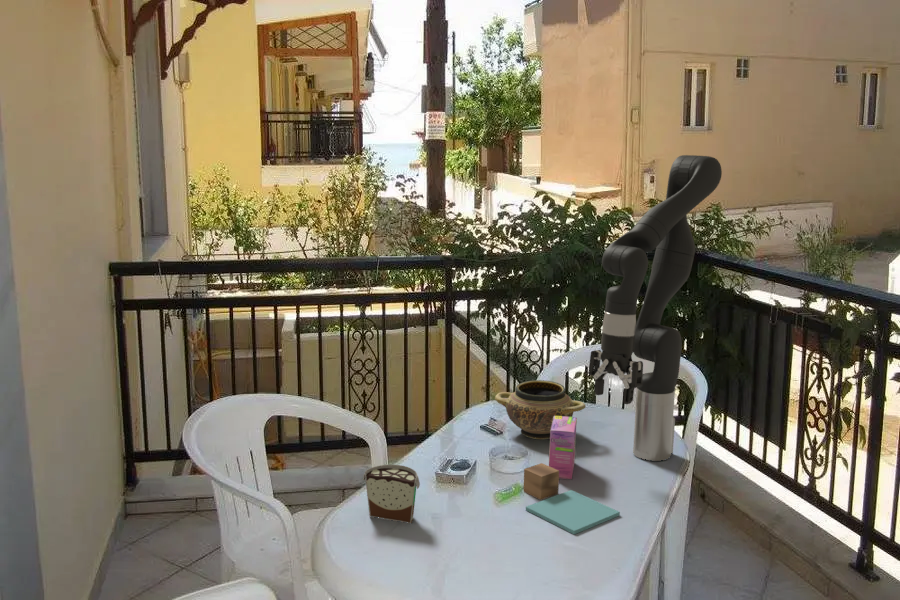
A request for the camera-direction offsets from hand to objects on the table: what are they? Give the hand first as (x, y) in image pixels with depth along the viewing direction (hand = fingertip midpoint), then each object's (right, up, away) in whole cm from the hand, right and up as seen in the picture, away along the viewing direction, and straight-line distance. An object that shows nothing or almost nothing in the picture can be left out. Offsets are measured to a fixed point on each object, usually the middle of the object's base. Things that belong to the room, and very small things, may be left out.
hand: (612, 399), depth 200 cm
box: (-11, -18, +3) cm, 21 cm away
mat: (-12, -22, -19) cm, 32 cm away
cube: (-18, -20, -9) cm, 28 cm away
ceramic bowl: (-14, -13, +27) cm, 34 cm away
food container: (-50, -22, -20) cm, 58 cm away
